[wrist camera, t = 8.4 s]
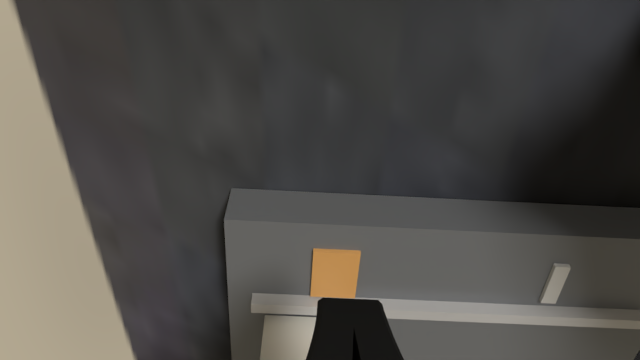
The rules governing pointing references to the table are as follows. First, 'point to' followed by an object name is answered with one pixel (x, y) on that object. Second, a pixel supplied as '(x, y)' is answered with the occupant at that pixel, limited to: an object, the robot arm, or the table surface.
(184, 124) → the table surface
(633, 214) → the panel
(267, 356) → the block
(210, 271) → the table surface
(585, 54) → the table surface
